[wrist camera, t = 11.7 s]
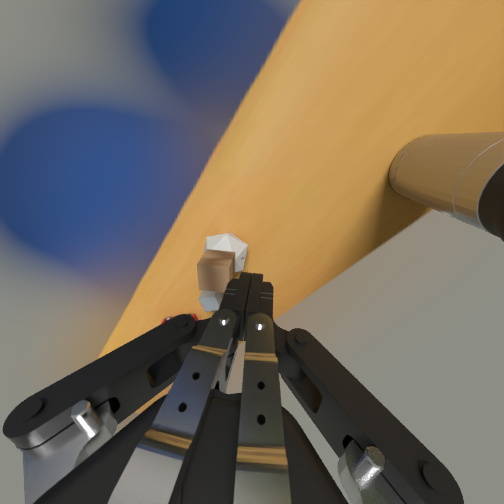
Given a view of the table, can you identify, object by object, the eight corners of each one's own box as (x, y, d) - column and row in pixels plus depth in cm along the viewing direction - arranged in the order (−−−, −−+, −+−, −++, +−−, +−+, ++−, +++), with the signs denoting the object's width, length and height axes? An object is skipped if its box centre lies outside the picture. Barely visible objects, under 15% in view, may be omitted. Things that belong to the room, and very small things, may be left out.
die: (231, 267, 47) (251, 282, 39) (194, 265, 43) (207, 281, 34) (238, 232, 46) (260, 240, 38) (200, 226, 41) (215, 233, 33)
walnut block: (235, 252, 35) (229, 267, 31) (234, 275, 38) (229, 293, 33) (206, 249, 36) (197, 264, 31) (208, 272, 38) (199, 289, 34)
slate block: (219, 285, 49) (214, 296, 46) (224, 297, 51) (220, 309, 47) (204, 288, 50) (198, 299, 46) (210, 300, 52) (205, 311, 48)
